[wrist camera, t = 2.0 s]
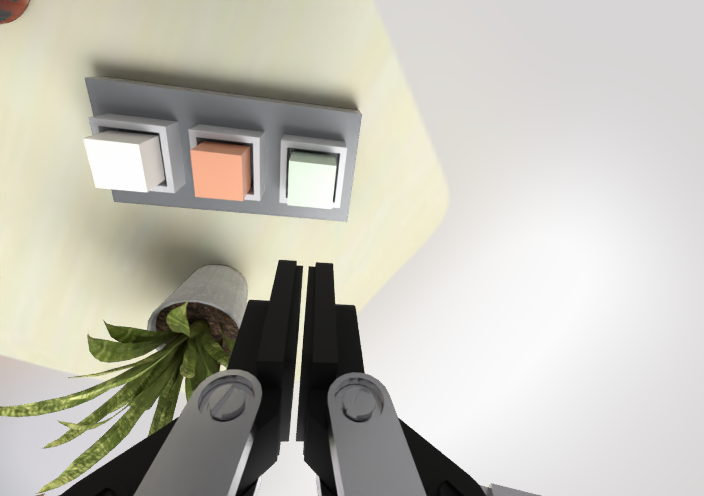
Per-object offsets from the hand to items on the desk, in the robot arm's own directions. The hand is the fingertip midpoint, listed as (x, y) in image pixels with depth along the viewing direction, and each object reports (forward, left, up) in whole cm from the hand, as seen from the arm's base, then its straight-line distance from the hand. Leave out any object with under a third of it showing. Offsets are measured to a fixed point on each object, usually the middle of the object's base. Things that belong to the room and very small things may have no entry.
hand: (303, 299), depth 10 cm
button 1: (0, -11, -13) cm, 17 cm away
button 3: (0, 0, -13) cm, 13 cm away
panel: (0, -6, -17) cm, 18 cm away
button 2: (0, -6, -13) cm, 15 cm away
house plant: (+13, -9, -17) cm, 23 cm away
